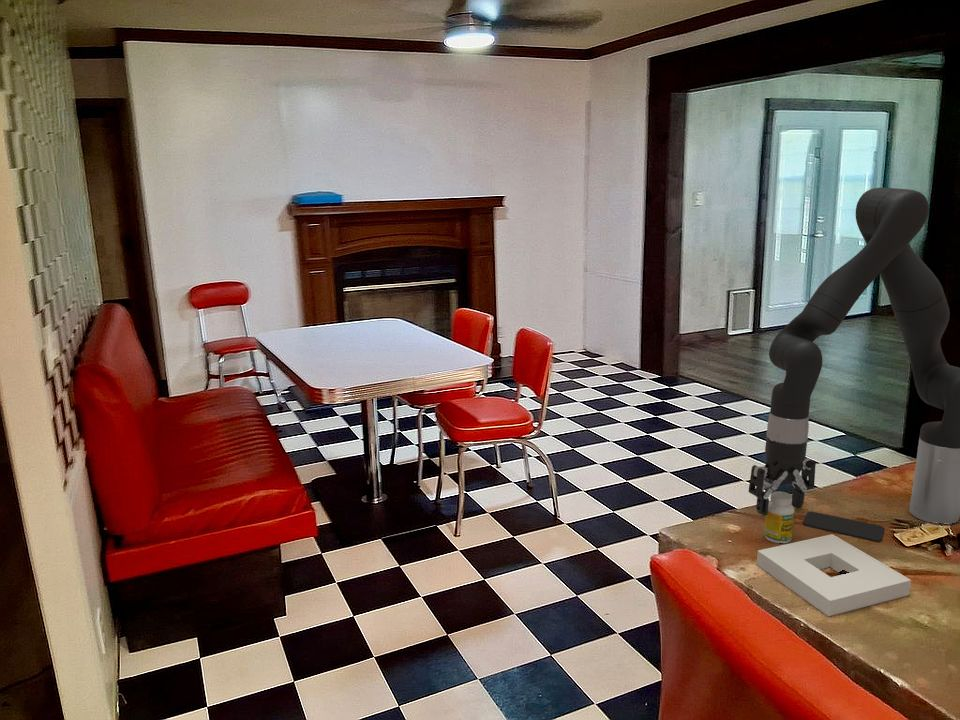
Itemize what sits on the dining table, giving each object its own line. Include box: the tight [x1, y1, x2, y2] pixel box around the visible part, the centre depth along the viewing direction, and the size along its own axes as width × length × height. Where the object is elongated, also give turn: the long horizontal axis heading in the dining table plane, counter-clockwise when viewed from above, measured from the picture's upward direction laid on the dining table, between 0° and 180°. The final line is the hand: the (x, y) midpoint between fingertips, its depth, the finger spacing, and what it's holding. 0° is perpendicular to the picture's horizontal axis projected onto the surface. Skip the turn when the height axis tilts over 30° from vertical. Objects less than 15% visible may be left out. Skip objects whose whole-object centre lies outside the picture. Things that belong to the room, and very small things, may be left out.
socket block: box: [756, 533, 912, 617], centre depth 133 cm, size 18×18×3 cm
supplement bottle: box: [763, 490, 795, 545], centre depth 148 cm, size 5×5×10 cm
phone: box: [802, 511, 885, 543], centre depth 153 cm, size 7×1×15 cm
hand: (779, 510), depth 147 cm, fingers open, 8 cm apart
